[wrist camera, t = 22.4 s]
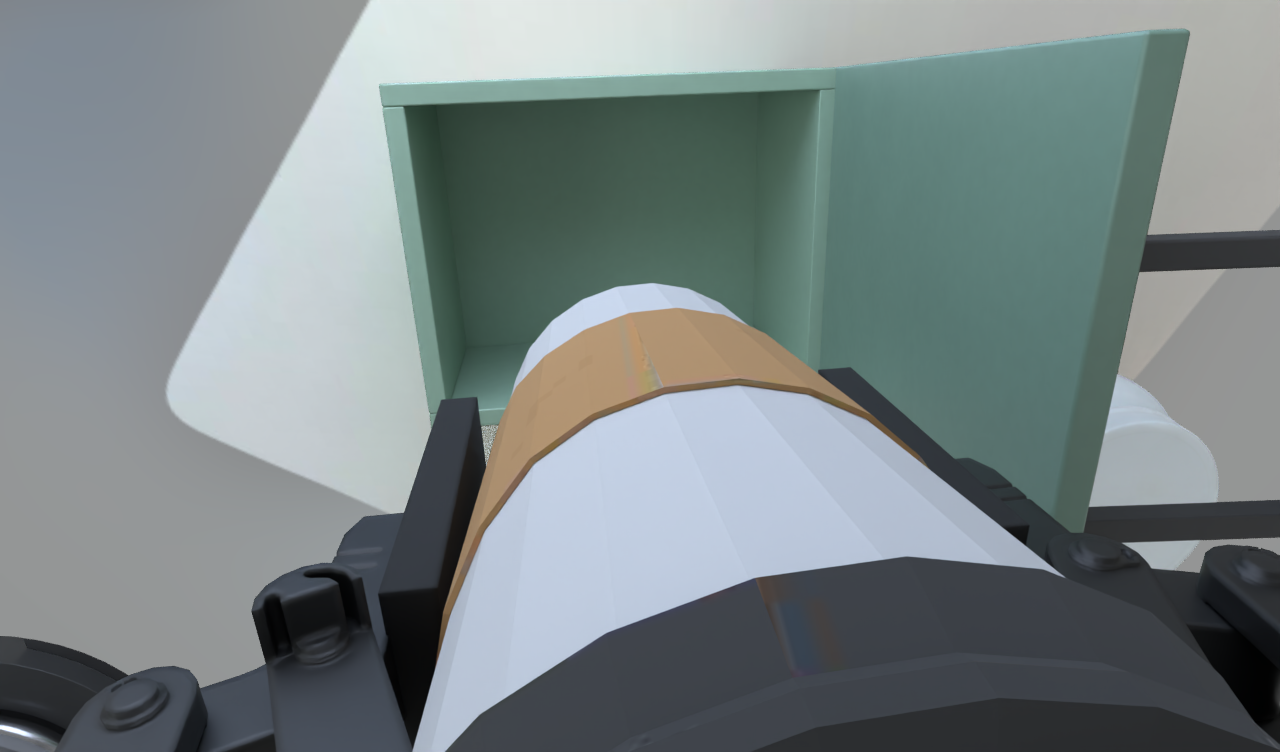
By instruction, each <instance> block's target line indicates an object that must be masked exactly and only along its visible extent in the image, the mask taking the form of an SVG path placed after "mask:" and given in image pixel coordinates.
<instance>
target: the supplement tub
mask: <svg viewBox="0 0 1280 752" xmlns="http://www.w3.org/2000/svg"><path fill="white" fill-rule="evenodd" d="M1218 491H1219V480H1218V471H1217V467H1216V463H1215V461H1214V458H1213V456H1212V454H1211V452H1210V450H1209V449H1208V447H1207V446H1206V445H1205V444H1204V442H1203V441H1202V440H1201V439H1200V438H1198V437H1197V436H1196V435H1195V434H1194V433H1192V432H1190V431H1188V430H1187V429H1185V428H1183V427H1182V426H1181V425H1180V424H1178V423H1177V422H1175V421H1174V420H1173V419H1171V418H1170V417H1169V415H1168V414H1167V412H1166V410H1165V409H1164V408H1163V406H1162V405H1161V404H1160V403H1159V402H1158V401H1157V399H1156V398H1155V397H1154V396H1153V395H1151V394H1150V393H1149V392H1148V391H1147V390H1145V389H1144V388H1143V387H1141V386H1140V385H1138V384H1137V383H1135V382H1134V381H1132V380H1130V379H1128V378H1126V377H1124V376H1121V375H1119V374H1117V377H1116V382H1115V387H1114V391H1113V396H1112V401H1111V405H1110V410H1109V415H1108V419H1107V424H1106V429H1105V434H1104V438H1103V443H1102V448H1101V452H1100V457H1099V462H1098V466H1097V471H1096V476H1095V480H1094V485H1093V490H1092V494H1091V499H1090V504H1089V507H1098V506H1126V505H1154V504H1182V503H1210V502H1217V499H1218ZM1199 542H1200V540H1192V541H1163V542H1135V543H1123V544H1124V545H1126V546H1128V547H1129V548H1131V549H1133V550H1134V551H1136V552H1138V553H1139V554H1140V555H1141V556H1142V557H1143V558H1144V559H1145V560H1146V561H1147V562H1148V564H1149V565H1150V567H1151V568H1153V569H1163V570H1175V569H1176V568H1177V567H1178V566H1179V565H1180V564H1181V563H1182V562H1183V561H1184V560H1185V559H1186V558H1187V557H1188V556H1189V555H1190V554H1191V553H1192V551H1193V550H1194V549H1195V547H1196V546H1197V545H1198V543H1199Z"/></svg>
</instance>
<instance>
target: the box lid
mask: <svg viewBox="0 0 1280 752" xmlns="http://www.w3.org/2000/svg"><path fill="white" fill-rule="evenodd" d="M1189 36H1190V32H1189V30H1186V29H1164V30H1145V31H1137V32H1129V33H1120V34H1112V35H1103V36H1095V37H1087V38H1078V39H1070V40H1061V41H1053V42H1045V43H1036V44H1028V45H1019V46H1011V47H1003V48H994V49H986V50H977V51H969V52H961V53H952V54H944V55H935V56H927V57H919V58H910V59H902V60H893V61H885V62H877V63H868V64H860V65H851V66H843V67H838V68H837V69H836V84H835V101H834V119H833V137H832V155H831V173H830V190H829V208H828V226H827V244H826V262H825V279H824V297H823V315H822V333H821V351H820V368H819V370H821V369H833V368H846V367H851V368H852V369H853V370H854V371H856V372H857V373H858V374H859V375H860V376H861V377H862V378H863V379H865V380H866V381H867V382H868V383H869V384H870V385H871V386H873V387H874V388H875V389H876V390H877V391H878V392H879V393H880V394H882V395H883V396H884V397H885V398H886V399H887V400H888V401H890V402H891V403H892V404H893V405H894V406H895V407H896V408H898V409H899V410H900V411H901V412H902V413H903V414H904V415H905V416H907V417H908V418H909V419H910V420H911V421H912V422H913V423H915V424H916V425H917V426H918V427H919V428H920V429H921V430H922V431H924V432H925V433H926V434H927V435H928V436H929V437H930V438H932V439H933V440H934V441H935V442H936V443H937V444H938V445H940V446H941V447H942V448H943V449H944V450H945V451H946V452H947V453H949V454H950V455H951V456H952V457H953V458H954V459H958V458H971V459H973V460H975V461H977V462H980V463H982V464H984V465H986V466H988V467H990V468H993V469H995V470H996V471H997V472H998V473H999V474H1001V475H1002V476H1003V477H1004V478H1006V479H1007V480H1008V481H1009V482H1010V483H1012V487H1016V488H1018V489H1019V490H1020V491H1021V492H1022V493H1024V494H1025V495H1026V498H1027V499H1031V500H1032V501H1033V502H1035V503H1036V504H1037V505H1038V506H1039V507H1041V508H1042V509H1043V510H1044V511H1045V512H1047V513H1048V514H1049V515H1050V516H1051V517H1053V518H1054V519H1055V520H1056V521H1058V522H1059V523H1060V524H1061V525H1062V526H1064V527H1065V528H1066V529H1067V530H1068V531H1070V532H1071V533H1088V534H1093V535H1098V536H1104V537H1106V538H1109V539H1112V540H1115V541H1117V542H1120V543H1135V542H1163V541H1192V540H1220V539H1248V538H1275V537H1280V500H1266V501H1238V502H1210V503H1182V504H1154V505H1126V506H1098V507H1089V504H1090V499H1091V494H1092V490H1093V485H1094V480H1095V476H1096V471H1097V466H1098V462H1099V457H1100V452H1101V448H1102V443H1103V438H1104V434H1105V429H1106V424H1107V419H1108V415H1109V410H1110V405H1111V401H1112V396H1113V391H1114V387H1115V382H1116V377H1117V373H1118V368H1119V363H1120V359H1121V354H1122V349H1123V345H1124V340H1125V335H1126V331H1127V326H1128V321H1129V317H1130V312H1131V307H1132V303H1133V298H1134V293H1135V289H1136V284H1137V279H1138V275H1139V272H1152V271H1179V270H1206V269H1232V268H1260V267H1280V230H1268V231H1241V232H1214V233H1187V234H1161V235H1147V232H1148V228H1149V223H1150V218H1151V214H1152V209H1153V204H1154V200H1155V195H1156V190H1157V186H1158V181H1159V176H1160V172H1161V167H1162V162H1163V158H1164V153H1165V148H1166V144H1167V139H1168V134H1169V130H1170V125H1171V120H1172V116H1173V111H1174V106H1175V101H1176V97H1177V92H1178V87H1179V83H1180V78H1181V73H1182V69H1183V64H1184V59H1185V55H1186V50H1187V45H1188V41H1189Z"/></svg>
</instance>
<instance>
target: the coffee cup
mask: <svg viewBox="0 0 1280 752" xmlns="http://www.w3.org/2000/svg"><path fill="white" fill-rule="evenodd" d="M412 752H1280V744H1278V743H1277V742H1276V741H1275V740H1274V739H1273V738H1272V737H1271V736H1269V735H1268V734H1267V733H1266V732H1265V731H1264V730H1263V729H1261V728H1260V727H1259V726H1258V725H1257V724H1256V723H1255V722H1254V721H1253V719H1252V718H1251V717H1250V715H1249V714H1248V712H1247V711H1246V710H1245V708H1244V707H1243V705H1242V704H1241V703H1240V701H1239V700H1238V698H1237V697H1236V696H1235V694H1234V693H1233V691H1232V690H1231V689H1230V687H1229V686H1228V684H1227V683H1226V682H1225V680H1224V679H1223V677H1222V676H1221V675H1220V674H1219V673H1218V672H1217V671H1216V670H1215V669H1214V668H1212V667H1211V666H1210V665H1209V664H1208V663H1207V662H1206V661H1205V660H1204V659H1202V658H1201V657H1200V656H1199V655H1198V654H1197V653H1196V652H1195V651H1193V650H1192V649H1191V648H1190V647H1189V646H1188V645H1187V644H1186V643H1185V642H1183V641H1182V640H1181V639H1180V638H1179V637H1178V636H1177V635H1176V634H1175V633H1173V632H1172V631H1171V630H1170V629H1169V628H1168V627H1167V626H1166V625H1164V624H1163V623H1162V622H1161V621H1160V620H1159V619H1158V618H1157V617H1156V616H1154V615H1153V614H1152V613H1151V612H1150V611H1147V610H1145V609H1142V608H1140V607H1137V606H1135V605H1132V604H1130V603H1127V602H1125V601H1122V600H1120V599H1117V598H1115V597H1112V596H1109V595H1107V594H1104V593H1102V592H1099V591H1097V590H1094V589H1092V588H1089V587H1087V586H1084V585H1082V584H1079V583H1077V582H1074V581H1072V580H1069V579H1067V578H1065V577H1064V576H1063V575H1061V574H1060V573H1059V572H1058V571H1056V570H1055V569H1054V568H1053V567H1051V566H1050V565H1049V564H1048V563H1046V562H1045V561H1044V560H1043V559H1041V558H1040V557H1039V556H1038V555H1036V554H1035V553H1034V552H1033V551H1031V550H1030V549H1029V548H1028V547H1026V546H1025V545H1024V544H1022V543H1021V542H1020V541H1019V540H1017V539H1016V538H1015V537H1014V536H1012V535H1011V534H1010V533H1009V532H1007V531H1006V530H1005V529H1004V528H1002V527H1001V526H1000V525H999V524H997V523H996V522H995V521H994V520H992V519H991V518H990V517H989V516H987V515H986V514H985V513H984V512H982V511H981V510H980V509H978V508H977V507H976V506H975V505H973V504H972V503H971V502H970V501H968V500H967V499H966V498H965V497H963V496H962V495H961V494H960V493H958V492H957V491H956V490H955V489H953V488H952V487H951V486H950V485H948V484H947V483H946V482H945V481H943V480H942V479H941V478H939V477H938V476H937V475H936V474H934V473H933V472H932V471H931V470H930V469H929V468H928V466H927V465H926V464H925V462H924V461H923V459H922V458H921V457H920V456H919V455H918V454H917V453H916V452H915V451H913V450H912V449H911V448H910V447H909V446H908V445H906V444H905V443H904V442H903V441H902V440H901V439H899V438H898V437H897V436H896V435H895V434H894V433H892V432H891V431H890V430H889V429H888V428H887V427H885V426H884V425H883V424H882V423H881V422H879V421H878V420H877V419H876V418H875V417H874V416H872V415H871V414H870V413H869V412H867V411H866V410H865V409H863V408H862V407H861V406H860V405H858V404H857V403H856V402H854V401H853V400H852V399H850V398H849V397H848V396H846V395H845V394H844V393H843V392H841V391H840V390H839V389H837V388H836V387H835V386H833V385H832V384H831V383H830V382H828V381H827V380H826V379H824V378H823V377H822V376H820V375H819V374H818V373H816V372H815V371H814V370H813V369H811V368H810V367H809V366H807V365H806V364H805V363H803V362H802V361H801V360H799V359H798V358H797V357H796V356H794V355H793V354H792V353H790V352H789V351H788V350H786V349H785V348H784V347H782V346H781V345H780V344H779V343H777V342H776V341H775V340H773V339H772V338H771V337H769V336H768V335H767V334H766V333H764V332H761V331H759V330H757V329H755V328H753V327H750V326H748V325H747V324H746V323H745V322H743V321H742V320H741V319H740V318H738V317H737V316H736V315H735V314H733V313H732V312H731V311H729V310H728V309H727V308H726V307H724V306H723V305H722V304H721V303H719V302H717V301H715V300H712V299H710V298H708V297H706V296H704V295H701V294H699V293H697V292H695V291H693V290H690V289H688V288H681V287H675V286H669V285H662V284H656V283H648V284H639V285H629V286H619V287H615V288H612V289H609V290H607V291H604V292H601V293H599V294H596V295H593V296H591V297H588V298H585V299H583V300H581V301H580V302H578V303H577V304H575V305H574V306H572V307H571V308H570V309H568V310H567V311H565V312H564V313H563V314H561V315H560V316H558V317H557V318H555V319H554V320H553V321H552V322H551V323H550V324H549V325H548V326H547V328H546V329H545V330H544V331H543V332H542V334H541V335H540V336H539V337H538V339H537V340H536V341H535V342H534V343H533V345H532V346H531V347H530V348H529V351H528V353H527V355H526V357H525V360H524V362H523V364H522V366H521V369H520V371H519V373H518V375H517V378H516V380H515V384H514V388H513V391H512V395H511V398H510V401H509V403H508V405H507V407H506V409H505V411H504V413H503V415H502V417H501V420H500V422H499V426H498V429H497V432H496V436H495V439H494V442H493V446H492V449H491V453H490V456H489V459H488V463H487V466H486V470H485V473H484V476H483V480H482V483H481V486H480V490H479V493H478V497H477V500H476V503H475V507H474V510H473V514H472V517H471V520H470V524H469V527H468V530H467V534H466V537H465V541H464V544H463V547H462V551H461V554H460V558H459V561H458V564H457V568H456V571H455V575H454V578H453V581H452V585H451V588H450V591H449V595H448V598H447V602H446V605H445V608H444V612H443V617H442V624H441V631H440V638H439V645H438V652H437V659H436V666H435V672H434V676H433V679H432V683H431V687H430V690H429V694H428V697H427V701H426V705H425V708H424V712H423V715H422V719H421V723H420V726H419V730H418V733H417V737H416V741H415V744H414V748H413V751H412Z"/></svg>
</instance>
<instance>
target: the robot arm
mask: <svg viewBox="0 0 1280 752" xmlns="http://www.w3.org/2000/svg"><path fill="white" fill-rule="evenodd" d="M818 374H819V375H820V376H822V377H823V378H824V379H826V380H827V381H828V382H830V383H831V384H832V385H833V386H835V387H836V388H837V389H839V390H840V391H841V392H843V393H844V394H845V395H846V396H848V397H849V398H850V399H852V400H853V401H854V402H856V403H857V404H858V405H860V406H861V407H862V408H863V409H865V410H866V411H867V412H869V413H870V414H871V415H872V416H874V417H875V418H876V419H877V420H878V421H879V422H881V423H882V424H883V425H884V426H885V427H887V428H888V429H889V430H890V431H891V432H892V433H894V434H895V435H896V436H897V437H898V438H899V439H901V440H902V441H903V442H904V443H905V444H906V445H908V446H909V447H910V448H911V449H912V450H913V451H915V452H916V453H917V454H918V455H919V456H920V457H921V458H922V459H923V461H924V462H925V464H926V465H927V466H928V468H929V469H930V470H931V471H932V472H933V473H934V474H936V475H937V476H938V477H939V478H941V479H942V480H943V481H945V482H946V483H947V484H948V485H950V486H951V487H952V488H953V489H955V490H956V491H957V492H958V493H960V494H961V495H962V496H963V497H965V498H966V499H967V500H968V501H970V502H971V503H972V504H973V505H975V506H976V507H977V508H978V509H980V510H981V511H982V512H984V513H985V514H986V515H987V516H989V517H990V518H991V519H992V520H994V521H995V522H996V523H997V524H999V525H1000V526H1001V527H1002V528H1004V529H1005V530H1006V531H1007V532H1009V533H1010V534H1011V535H1012V536H1014V537H1015V538H1016V539H1017V540H1019V541H1020V542H1021V543H1022V544H1024V545H1025V546H1026V547H1028V548H1029V549H1030V550H1031V551H1033V552H1034V553H1035V554H1036V555H1038V556H1039V557H1040V558H1041V559H1043V560H1044V561H1045V562H1046V563H1048V564H1049V565H1050V566H1051V567H1053V568H1054V569H1055V570H1056V571H1058V572H1059V573H1060V574H1061V575H1063V576H1064V577H1065V578H1067V579H1069V580H1072V581H1074V582H1077V583H1079V584H1082V585H1084V586H1087V587H1089V588H1092V589H1094V590H1097V591H1099V592H1102V593H1104V594H1107V595H1109V596H1112V597H1115V598H1117V599H1120V600H1122V601H1125V602H1127V603H1130V604H1132V605H1135V606H1137V607H1140V608H1142V609H1145V610H1147V611H1150V612H1151V613H1152V614H1153V615H1154V616H1156V617H1157V618H1158V619H1159V620H1160V621H1161V622H1162V623H1163V624H1164V625H1166V626H1167V627H1168V628H1169V629H1170V630H1171V631H1172V632H1173V633H1175V634H1176V635H1177V636H1178V637H1179V638H1180V639H1181V640H1182V641H1183V642H1185V643H1186V644H1187V645H1188V646H1189V647H1190V648H1191V649H1192V650H1193V651H1195V652H1196V653H1197V654H1198V655H1199V656H1200V657H1201V658H1202V659H1204V660H1205V661H1206V662H1207V663H1208V664H1209V665H1210V666H1211V667H1212V668H1214V669H1215V670H1216V671H1217V672H1218V673H1219V674H1220V675H1221V676H1222V677H1223V679H1224V680H1225V682H1226V683H1227V684H1228V686H1229V687H1230V689H1231V690H1232V691H1233V693H1234V694H1235V696H1236V697H1237V698H1238V700H1239V701H1240V703H1241V704H1242V705H1243V707H1244V708H1245V710H1246V711H1247V712H1248V714H1249V715H1250V717H1251V718H1252V719H1253V721H1254V722H1255V723H1256V724H1257V725H1258V726H1259V727H1260V728H1261V729H1263V730H1264V731H1265V732H1266V733H1267V734H1268V735H1269V736H1271V737H1272V738H1273V739H1274V740H1275V741H1276V742H1277V743H1278V744H1280V555H1277V554H1276V553H1274V552H1272V551H1269V550H1265V549H1262V548H1261V549H1258V547H1252V546H1238V545H1223V546H1217V547H1213V548H1211V549H1210V550H1209V551H1207V552H1206V553H1205V556H1204V560H1203V563H1202V567H1201V570H1200V573H1195V572H1185V571H1174V570H1163V569H1153V568H1151V567H1150V565H1149V564H1148V562H1147V561H1146V560H1145V559H1144V558H1143V557H1142V556H1141V555H1140V554H1139V553H1138V552H1136V551H1134V550H1133V549H1131V548H1129V547H1128V546H1126V545H1124V544H1123V543H1120V542H1117V541H1115V540H1112V539H1109V538H1106V537H1104V536H1098V535H1093V534H1088V533H1071V532H1070V531H1068V530H1067V529H1066V528H1065V527H1064V526H1062V525H1061V524H1060V523H1059V522H1058V521H1056V520H1055V519H1054V518H1053V517H1051V516H1050V515H1049V514H1048V513H1047V512H1045V511H1044V510H1043V509H1042V508H1041V507H1039V506H1038V505H1037V504H1036V503H1035V502H1033V501H1032V500H1031V499H1027V498H1026V495H1025V494H1024V493H1022V492H1021V491H1020V490H1019V489H1018V488H1016V487H1012V483H1010V482H1009V481H1008V480H1007V479H1006V478H1004V477H1003V476H1002V475H1001V474H999V473H998V472H997V471H996V470H995V469H993V468H990V467H988V466H986V465H984V464H982V463H980V462H977V461H975V460H973V459H971V458H958V459H954V458H953V457H952V456H951V455H950V454H949V453H947V452H946V451H945V450H944V449H943V448H942V447H941V446H940V445H938V444H937V443H936V442H935V441H934V440H933V439H932V438H930V437H929V436H928V435H927V434H926V433H925V432H924V431H922V430H921V429H920V428H919V427H918V426H917V425H916V424H915V423H913V422H912V421H911V420H910V419H909V418H908V417H907V416H905V415H904V414H903V413H902V412H901V411H900V410H899V409H898V408H896V407H895V406H894V405H893V404H892V403H891V402H890V401H888V400H887V399H886V398H885V397H884V396H883V395H882V394H880V393H879V392H878V391H877V390H876V389H875V388H874V387H873V386H871V385H870V384H869V383H868V382H867V381H866V380H865V379H863V378H862V377H861V376H860V375H859V374H858V373H857V372H856V371H854V370H853V369H852V368H851V367H846V368H833V369H821V370H818ZM485 470H486V462H485V454H484V446H483V438H482V430H481V422H480V414H479V406H478V398H477V397H468V398H456V399H443V400H441V402H440V405H439V408H438V411H437V414H436V417H435V420H434V423H433V426H432V429H431V432H430V436H429V439H428V442H427V445H426V448H425V451H424V454H423V457H422V460H421V463H420V466H419V469H418V472H417V475H416V478H415V481H414V484H413V487H412V491H411V494H410V497H409V500H408V503H407V506H406V509H405V512H404V513H397V514H387V515H377V516H366V517H363V518H362V519H361V520H360V521H359V522H358V523H357V524H356V525H354V526H353V527H352V528H351V529H350V530H349V531H348V532H347V533H346V534H345V535H344V538H343V539H342V542H341V544H340V546H339V548H338V551H337V556H336V557H334V560H333V562H332V563H320V564H315V565H310V566H305V567H301V568H299V569H296V570H294V571H291V572H289V573H287V574H284V575H282V576H280V577H279V578H277V579H276V580H274V581H273V582H271V583H270V584H268V585H267V586H265V588H264V589H263V590H262V591H261V592H260V593H259V594H258V596H257V597H256V598H255V599H254V604H253V607H252V615H253V619H254V622H255V626H256V629H257V633H258V637H259V640H260V644H261V647H262V651H263V655H264V658H265V662H266V664H265V665H263V666H261V667H259V668H257V669H255V670H253V671H250V672H247V673H245V674H242V675H240V676H237V677H234V678H231V679H228V680H225V681H222V682H219V683H216V684H212V685H209V686H207V687H203V688H200V687H199V684H198V681H197V679H196V678H195V676H194V675H193V674H192V673H191V672H190V670H187V669H183V668H179V667H176V666H168V667H156V668H151V669H148V670H144V671H141V672H138V673H134V674H131V675H129V676H127V677H125V678H122V679H121V680H118V681H117V682H115V683H113V684H111V685H109V686H107V687H105V688H104V689H103V690H102V691H100V692H99V693H98V694H96V695H95V696H94V697H92V698H91V699H90V700H88V701H87V702H86V703H85V704H84V706H83V707H82V708H81V709H80V711H79V712H78V713H77V714H76V715H75V717H74V718H73V719H72V721H71V723H70V725H69V726H68V728H67V730H66V729H64V728H62V727H60V726H58V725H56V724H54V723H52V722H49V721H47V720H44V719H41V718H38V717H35V716H32V715H29V714H25V713H21V712H16V711H11V710H4V709H0V752H412V751H413V748H414V744H415V741H416V737H417V733H418V730H419V726H420V723H421V719H422V715H423V712H424V708H425V705H426V701H427V697H428V694H429V690H430V687H431V683H432V679H433V676H434V672H435V666H436V659H437V652H438V645H439V638H440V631H441V624H442V617H443V612H444V608H445V605H446V602H447V598H448V595H449V591H450V588H451V585H452V581H453V578H454V575H455V571H456V568H457V564H458V561H459V558H460V554H461V551H462V547H463V544H464V541H465V537H466V534H467V530H468V527H469V524H470V520H471V517H472V514H473V510H474V507H475V503H476V500H477V497H478V493H479V490H480V486H481V483H482V480H483V476H484V473H485Z"/></svg>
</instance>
